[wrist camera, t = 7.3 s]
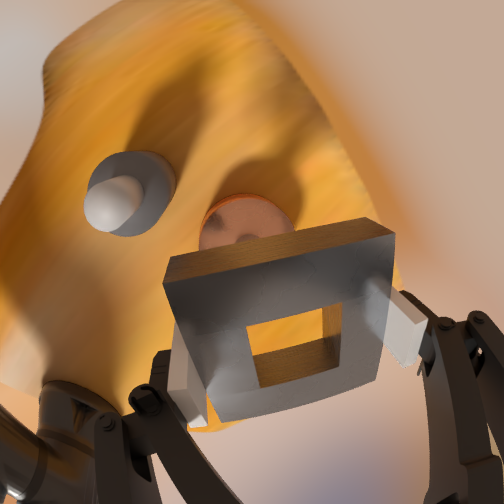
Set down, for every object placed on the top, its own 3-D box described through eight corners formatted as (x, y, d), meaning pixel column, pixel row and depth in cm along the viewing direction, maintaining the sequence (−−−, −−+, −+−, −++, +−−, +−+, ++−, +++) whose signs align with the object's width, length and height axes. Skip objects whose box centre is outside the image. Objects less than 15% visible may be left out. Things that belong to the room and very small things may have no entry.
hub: (210, 285, 27) (214, 343, 19) (190, 203, 24) (182, 233, 15) (291, 267, 28) (325, 316, 19) (281, 186, 24) (319, 206, 16)
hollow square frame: (218, 391, 15) (221, 422, 12) (170, 256, 11) (162, 283, 9) (358, 354, 15) (375, 380, 13) (365, 217, 12) (395, 232, 10)
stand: (122, 223, 23) (79, 266, 14) (107, 161, 21) (51, 172, 12) (182, 208, 24) (168, 245, 15) (168, 143, 21) (143, 138, 12)
